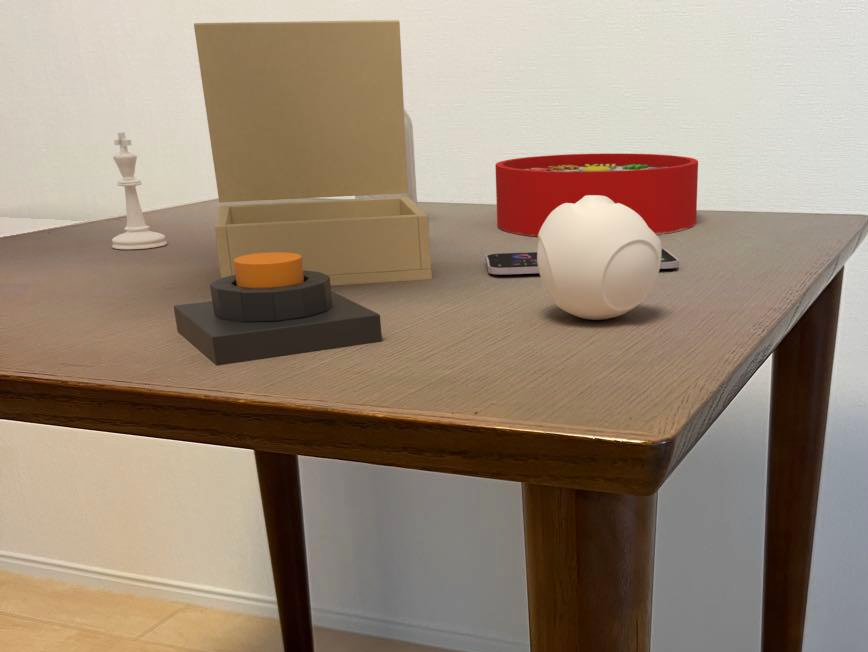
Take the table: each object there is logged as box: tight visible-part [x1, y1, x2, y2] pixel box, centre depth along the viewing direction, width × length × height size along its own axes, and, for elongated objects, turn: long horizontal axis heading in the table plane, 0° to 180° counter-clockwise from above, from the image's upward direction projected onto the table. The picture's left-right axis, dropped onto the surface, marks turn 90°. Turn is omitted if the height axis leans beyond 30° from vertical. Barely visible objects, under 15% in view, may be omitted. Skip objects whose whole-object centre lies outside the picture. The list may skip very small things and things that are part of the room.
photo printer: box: [354, 107, 418, 206], centre depth 111 cm, size 10×4×12 cm, turn 27°
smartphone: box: [485, 247, 680, 275], centre depth 88 cm, size 8×1×15 cm
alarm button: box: [234, 252, 304, 288], centre depth 66 cm, size 4×4×2 cm
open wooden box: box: [213, 197, 433, 287], centre depth 87 cm, size 13×16×5 cm
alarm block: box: [173, 270, 383, 367], centre depth 67 cm, size 10×10×4 cm
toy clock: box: [494, 152, 699, 237], centre depth 109 cm, size 20×6×20 cm
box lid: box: [193, 19, 408, 203], centre depth 89 cm, size 13×16×4 cm
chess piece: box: [111, 132, 168, 251], centre depth 101 cm, size 5×5×10 cm
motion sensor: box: [536, 195, 663, 321], centre depth 69 cm, size 8×8×8 cm
